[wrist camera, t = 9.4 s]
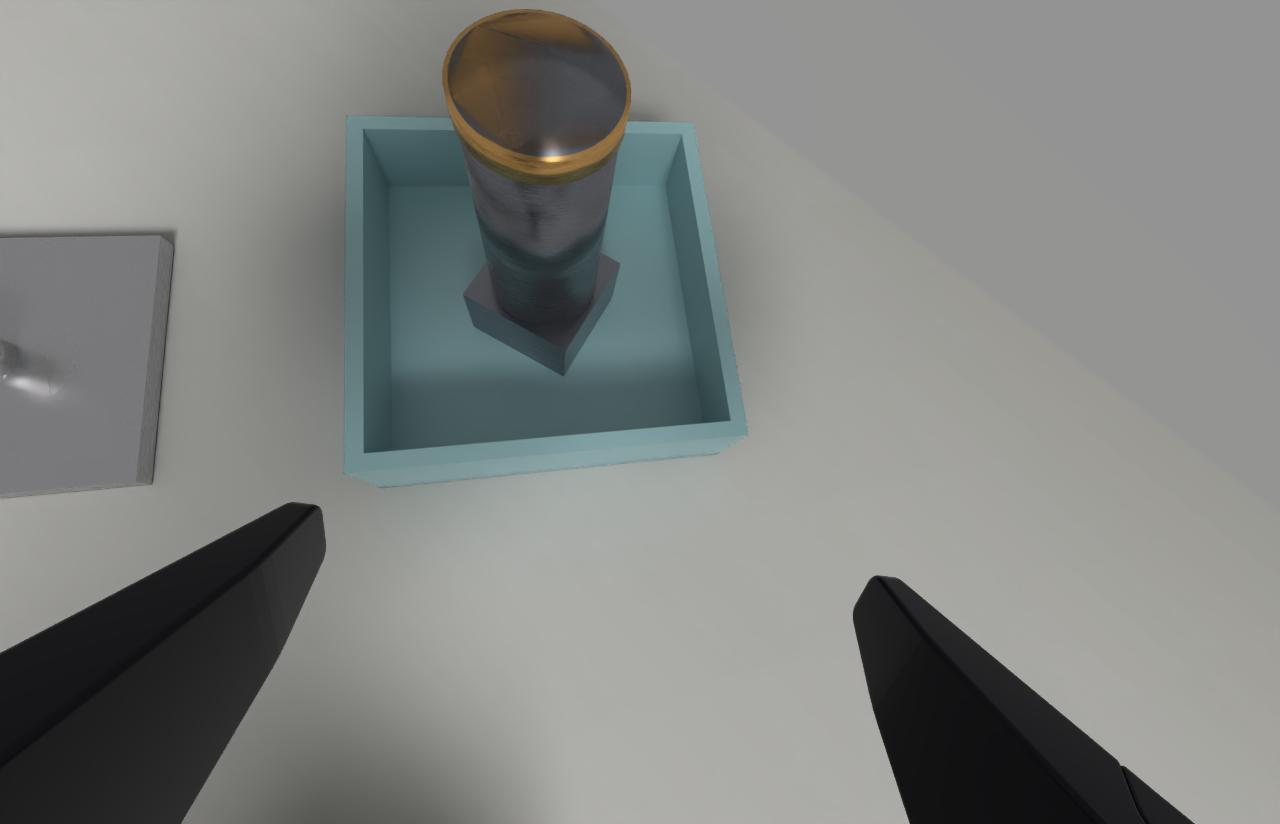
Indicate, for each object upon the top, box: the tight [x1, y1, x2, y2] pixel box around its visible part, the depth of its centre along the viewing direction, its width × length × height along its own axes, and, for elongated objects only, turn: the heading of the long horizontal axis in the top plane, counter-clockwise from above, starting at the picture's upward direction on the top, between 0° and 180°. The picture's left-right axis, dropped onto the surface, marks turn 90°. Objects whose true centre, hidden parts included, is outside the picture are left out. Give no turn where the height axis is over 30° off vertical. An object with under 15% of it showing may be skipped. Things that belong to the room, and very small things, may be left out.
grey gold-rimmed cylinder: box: [443, 9, 631, 377], centre depth 18 cm, size 4×4×12 cm
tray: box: [344, 116, 749, 488], centre depth 22 cm, size 14×14×4 cm
